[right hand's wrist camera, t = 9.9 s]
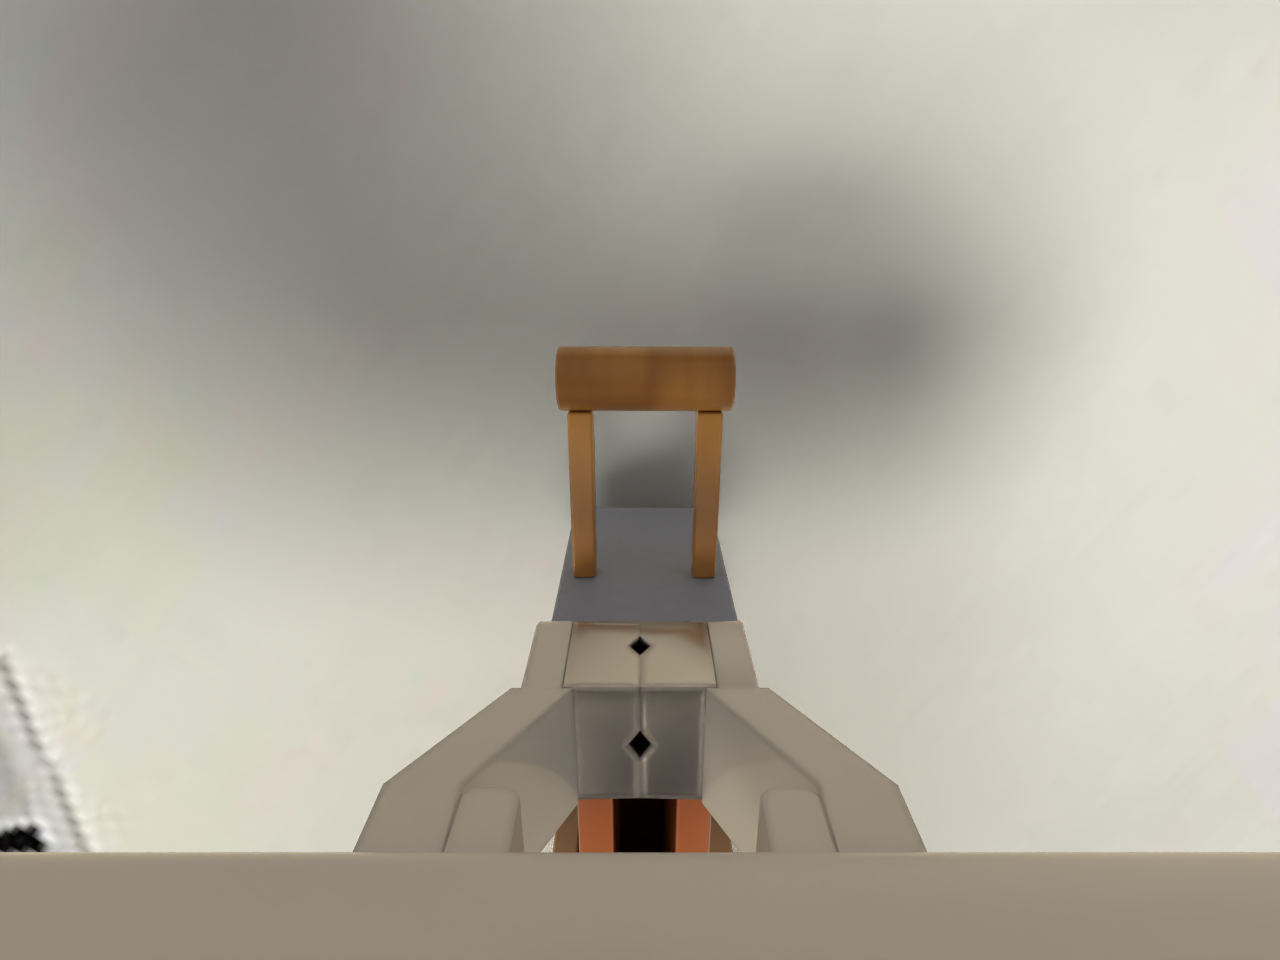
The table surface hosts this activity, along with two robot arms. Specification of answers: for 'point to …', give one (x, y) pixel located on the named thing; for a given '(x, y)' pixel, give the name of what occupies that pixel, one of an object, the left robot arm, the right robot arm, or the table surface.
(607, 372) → the drawer
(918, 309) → the table surface
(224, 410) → the table surface
